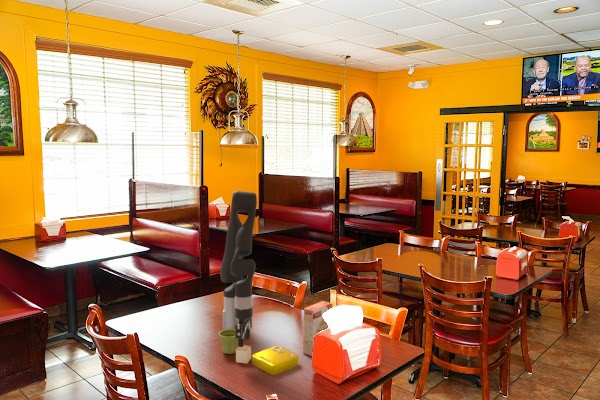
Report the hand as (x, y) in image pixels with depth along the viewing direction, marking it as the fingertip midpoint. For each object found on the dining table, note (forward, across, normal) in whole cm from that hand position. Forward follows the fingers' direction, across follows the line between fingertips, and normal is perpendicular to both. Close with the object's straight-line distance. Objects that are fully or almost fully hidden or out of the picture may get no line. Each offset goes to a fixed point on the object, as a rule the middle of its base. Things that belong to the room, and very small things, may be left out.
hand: (244, 342), depth 207 cm
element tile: (+9, 0, +14) cm, 16 cm away
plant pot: (+8, -7, -10) cm, 14 cm away
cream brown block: (+8, 0, 0) cm, 8 cm away
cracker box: (+8, -17, +29) cm, 34 cm away
